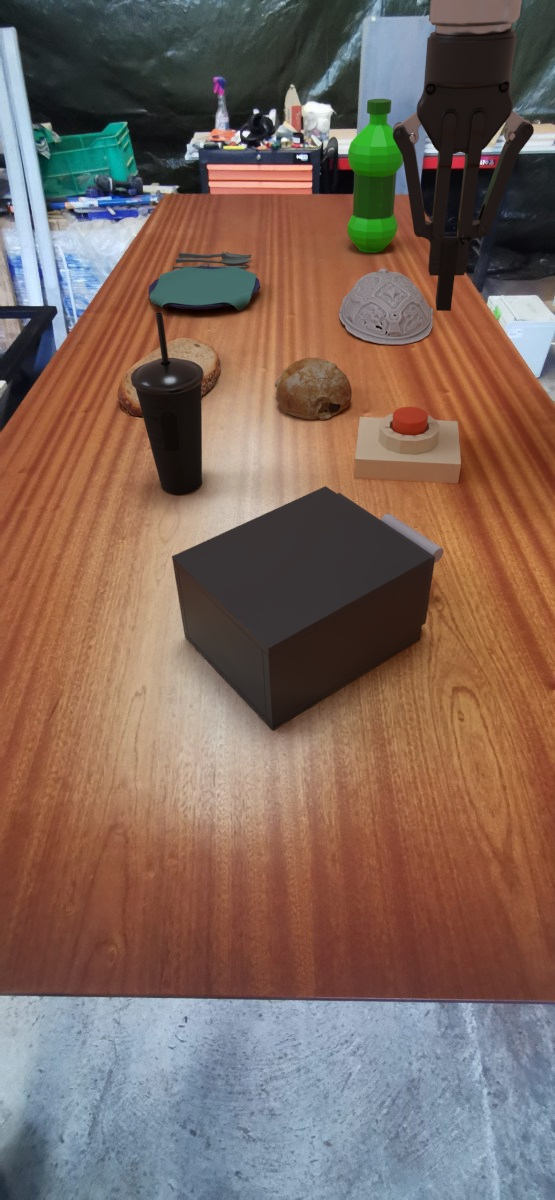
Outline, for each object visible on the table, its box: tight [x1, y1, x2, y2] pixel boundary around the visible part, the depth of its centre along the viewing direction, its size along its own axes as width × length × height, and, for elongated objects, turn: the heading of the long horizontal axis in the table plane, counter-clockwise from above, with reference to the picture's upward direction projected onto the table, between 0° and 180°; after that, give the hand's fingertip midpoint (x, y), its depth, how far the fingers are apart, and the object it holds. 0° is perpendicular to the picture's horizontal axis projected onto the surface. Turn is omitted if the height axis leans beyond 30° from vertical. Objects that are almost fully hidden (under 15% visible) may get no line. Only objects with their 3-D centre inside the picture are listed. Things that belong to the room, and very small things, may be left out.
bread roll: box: [274, 357, 353, 421], centre depth 99 cm, size 10×10×8 cm
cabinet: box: [171, 486, 432, 731], centre depth 64 cm, size 17×14×10 cm
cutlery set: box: [147, 251, 261, 312], centre depth 135 cm, size 20×30×2 cm, turn 176°
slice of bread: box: [116, 337, 222, 417], centre depth 105 cm, size 18×18×4 cm
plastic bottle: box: [347, 98, 404, 254], centre depth 140 cm, size 10×10×25 cm
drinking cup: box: [131, 311, 204, 496], centre depth 80 cm, size 8×8×20 cm
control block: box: [353, 413, 462, 484], centre depth 88 cm, size 12×10×4 cm
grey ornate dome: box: [338, 267, 434, 346], centre depth 121 cm, size 16×25×7 cm, turn 178°
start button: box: [392, 406, 429, 436], centre depth 86 cm, size 4×4×2 cm
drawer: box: [336, 492, 445, 626], centre depth 66 cm, size 20×12×8 cm, turn 127°
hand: (443, 305), depth 79 cm, fingers closed
